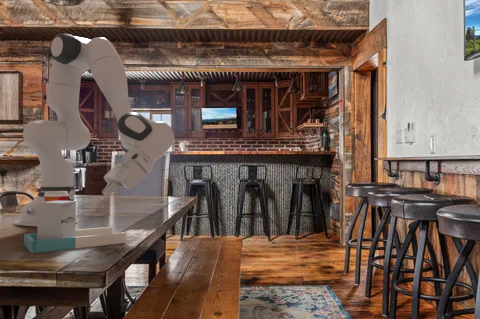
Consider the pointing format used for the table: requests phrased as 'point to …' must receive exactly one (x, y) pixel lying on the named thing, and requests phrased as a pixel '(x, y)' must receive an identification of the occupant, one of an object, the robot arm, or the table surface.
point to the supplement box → (56, 219)
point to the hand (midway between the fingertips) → (104, 194)
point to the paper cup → (56, 196)
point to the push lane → (75, 240)
